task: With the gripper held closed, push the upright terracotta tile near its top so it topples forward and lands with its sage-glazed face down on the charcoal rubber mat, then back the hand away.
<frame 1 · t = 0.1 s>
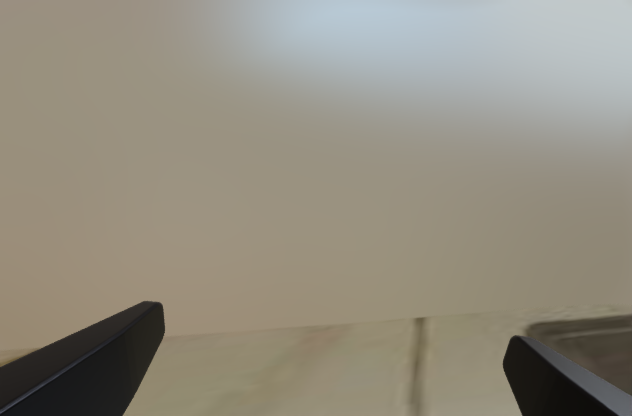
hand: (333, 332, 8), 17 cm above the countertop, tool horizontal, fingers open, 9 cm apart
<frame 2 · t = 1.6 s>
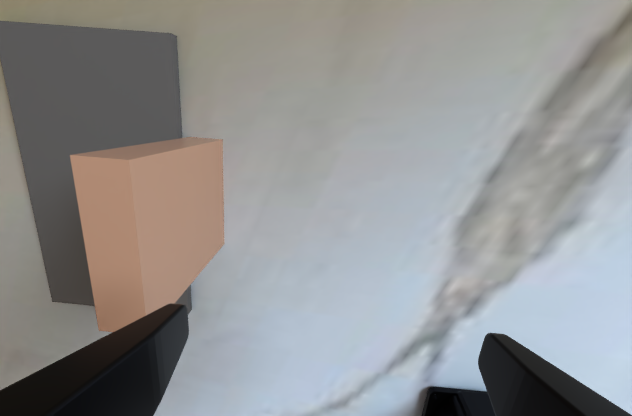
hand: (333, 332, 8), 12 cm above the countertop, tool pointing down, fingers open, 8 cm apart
mat: (109, 184, 20), on the countertop
tile: (208, 193, 20), on the countertop
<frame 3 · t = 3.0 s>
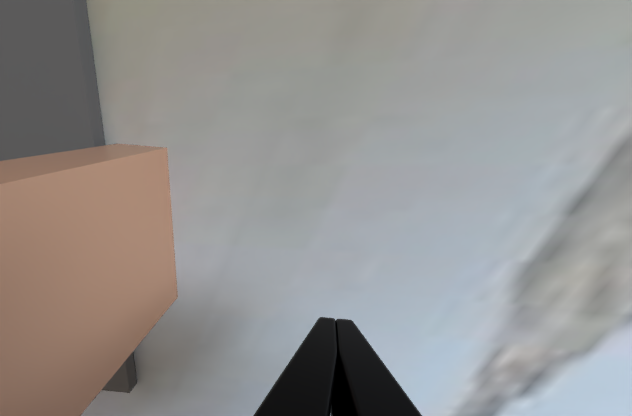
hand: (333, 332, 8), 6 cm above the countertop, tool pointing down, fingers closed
mat: (3, 213, 13), on the countertop
tile: (150, 226, 13), on the countertop
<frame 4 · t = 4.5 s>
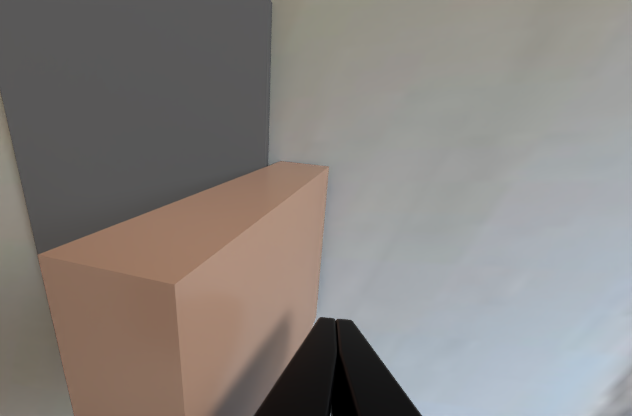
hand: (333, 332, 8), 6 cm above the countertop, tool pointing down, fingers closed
mat: (154, 230, 13), on the countertop
tile: (299, 244, 13), on the countertop, tilted 11°
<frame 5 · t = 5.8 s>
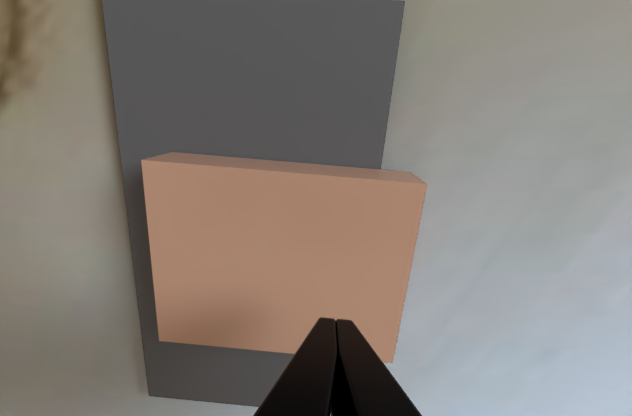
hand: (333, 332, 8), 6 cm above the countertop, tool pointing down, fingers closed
mat: (251, 237, 13), on the countertop
tile: (401, 268, 11), point 2 cm above the countertop, tilted 90°, touching mat
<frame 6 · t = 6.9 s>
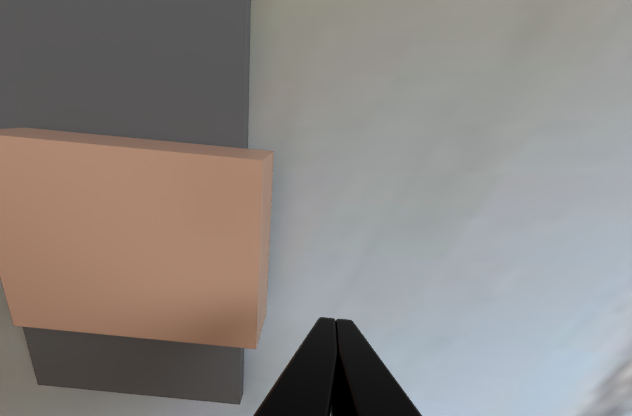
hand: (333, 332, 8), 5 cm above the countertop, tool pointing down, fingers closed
mat: (126, 219, 13), on the countertop
tile: (264, 251, 11), point 2 cm above the countertop, tilted 90°, touching mat
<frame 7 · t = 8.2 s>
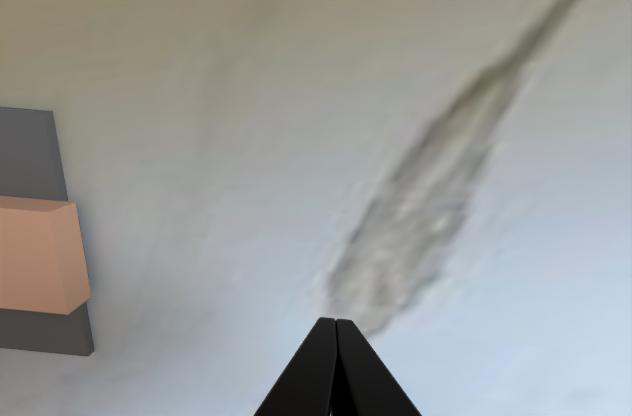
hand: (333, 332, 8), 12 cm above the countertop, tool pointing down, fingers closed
mat: (5, 239, 21), on the countertop
tile: (71, 258, 19), point 2 cm above the countertop, tilted 90°, touching mat
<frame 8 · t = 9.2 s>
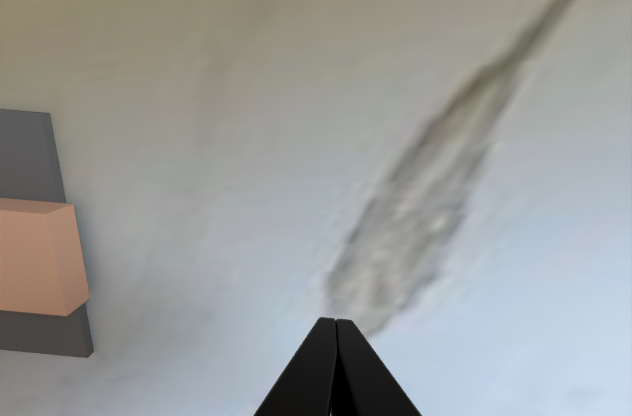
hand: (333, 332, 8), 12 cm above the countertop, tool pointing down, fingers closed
mat: (4, 241, 21), on the countertop
tile: (70, 260, 19), point 2 cm above the countertop, tilted 90°, touching mat
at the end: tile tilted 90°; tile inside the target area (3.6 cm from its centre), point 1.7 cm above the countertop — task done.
